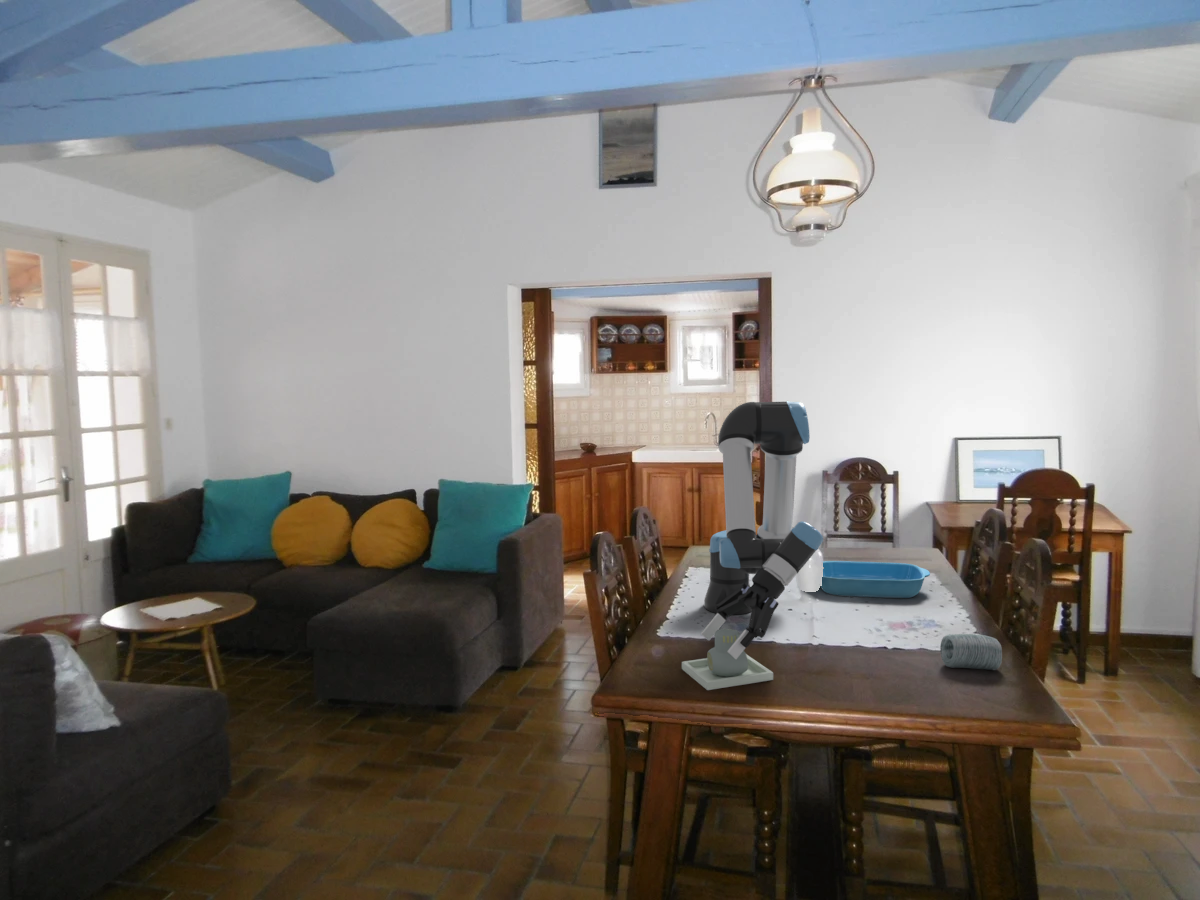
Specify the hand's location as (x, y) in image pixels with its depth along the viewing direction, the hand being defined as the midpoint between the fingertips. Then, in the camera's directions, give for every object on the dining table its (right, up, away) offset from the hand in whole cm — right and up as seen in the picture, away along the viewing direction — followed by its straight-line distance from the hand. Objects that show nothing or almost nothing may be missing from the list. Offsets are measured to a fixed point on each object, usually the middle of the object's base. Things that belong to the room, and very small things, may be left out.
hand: (717, 646), depth 195 cm
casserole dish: (+59, +1, +71) cm, 92 cm away
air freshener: (+2, -7, +2) cm, 8 cm away
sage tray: (+2, -8, +2) cm, 8 cm away
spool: (+61, -6, +3) cm, 62 cm away
